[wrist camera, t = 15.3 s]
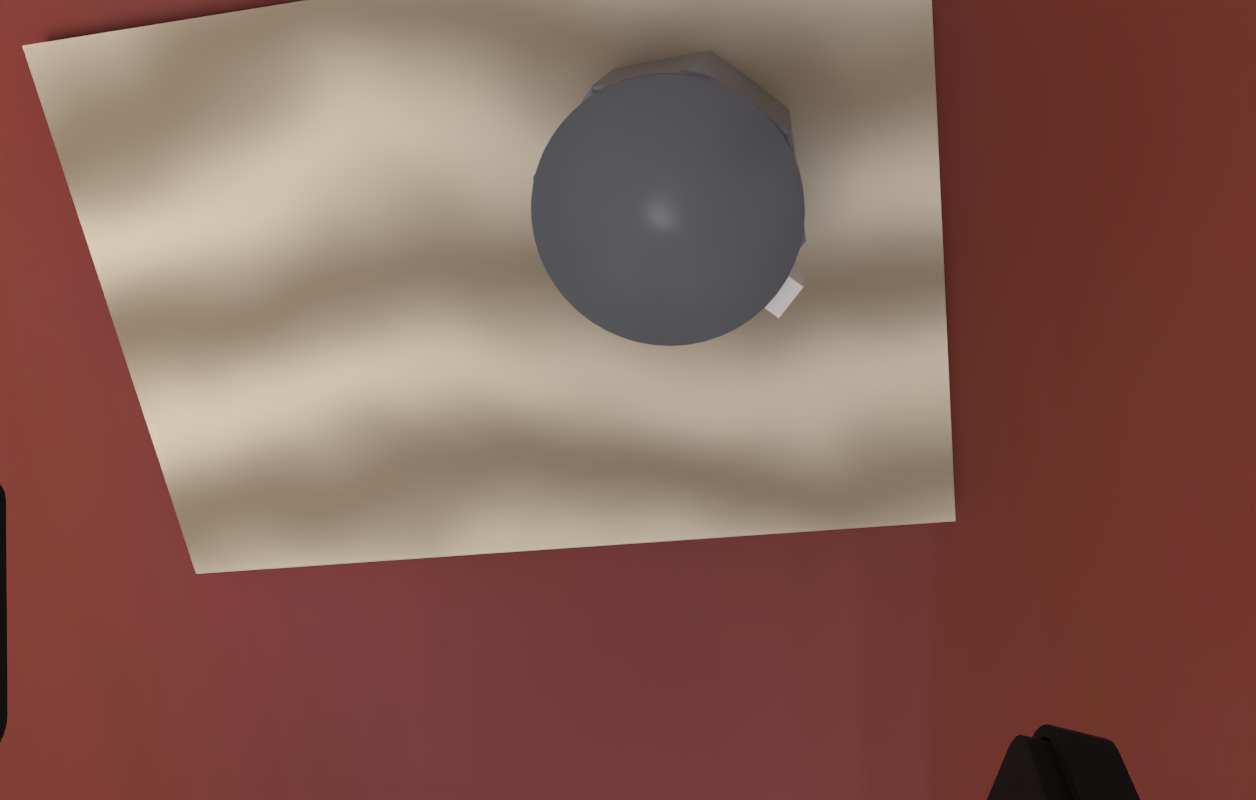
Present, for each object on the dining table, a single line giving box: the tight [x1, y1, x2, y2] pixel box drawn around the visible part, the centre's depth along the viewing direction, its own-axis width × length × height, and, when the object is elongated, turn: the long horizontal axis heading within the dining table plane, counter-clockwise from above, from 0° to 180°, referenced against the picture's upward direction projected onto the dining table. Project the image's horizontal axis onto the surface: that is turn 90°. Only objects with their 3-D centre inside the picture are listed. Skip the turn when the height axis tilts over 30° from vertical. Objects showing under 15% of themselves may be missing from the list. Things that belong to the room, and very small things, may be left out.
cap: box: [531, 51, 806, 346], centre depth 29 cm, size 7×7×5 cm
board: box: [22, 0, 956, 574], centre depth 32 cm, size 18×26×6 cm
